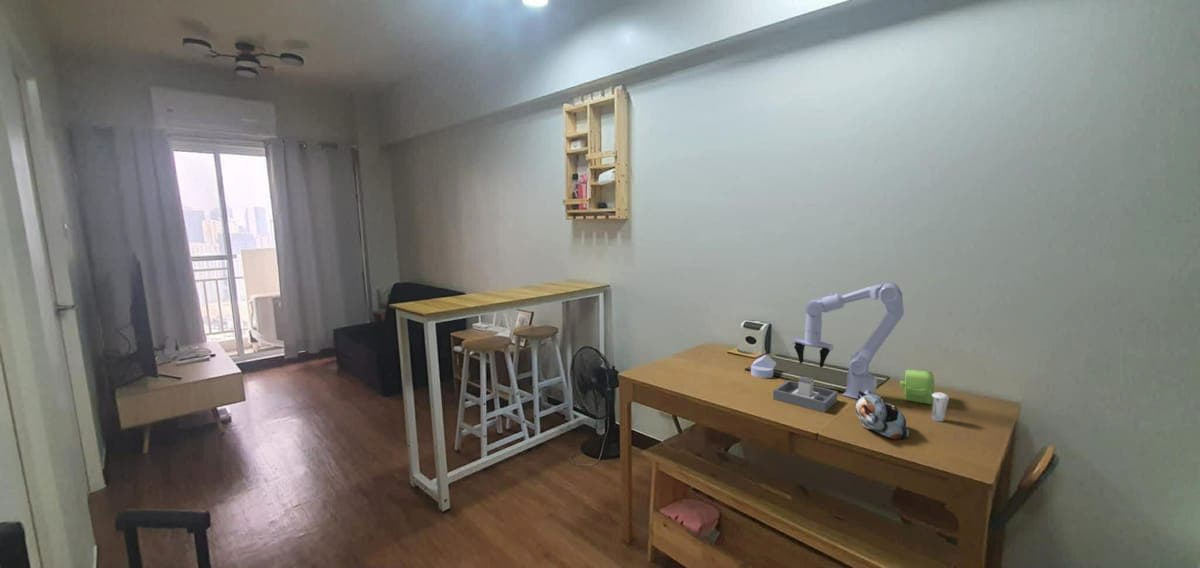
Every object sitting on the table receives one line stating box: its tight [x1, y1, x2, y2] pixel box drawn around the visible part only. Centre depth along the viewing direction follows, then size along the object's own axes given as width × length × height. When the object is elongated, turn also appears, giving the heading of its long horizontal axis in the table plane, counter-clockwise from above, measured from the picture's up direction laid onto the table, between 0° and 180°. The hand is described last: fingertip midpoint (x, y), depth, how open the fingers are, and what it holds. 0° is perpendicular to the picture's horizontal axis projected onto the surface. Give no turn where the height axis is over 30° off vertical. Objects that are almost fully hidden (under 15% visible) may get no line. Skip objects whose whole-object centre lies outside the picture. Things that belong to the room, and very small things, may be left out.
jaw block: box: [797, 376, 815, 398], centre depth 168 cm, size 4×4×7 cm
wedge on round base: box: [750, 354, 777, 379], centre depth 197 cm, size 9×7×13 cm
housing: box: [772, 379, 839, 414], centre depth 168 cm, size 18×14×4 cm
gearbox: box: [899, 369, 935, 405], centre depth 170 cm, size 18×10×10 cm, turn 148°
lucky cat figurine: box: [855, 390, 910, 441], centre depth 143 cm, size 15×12×14 cm
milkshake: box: [929, 389, 950, 423], centre depth 151 cm, size 4×5×10 cm
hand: (811, 364), depth 179 cm, fingers open, 7 cm apart
